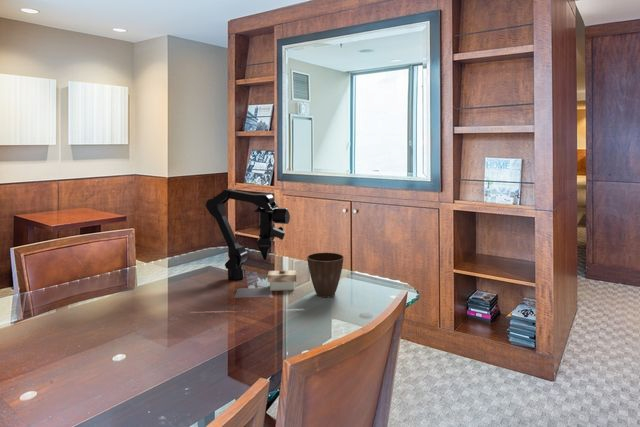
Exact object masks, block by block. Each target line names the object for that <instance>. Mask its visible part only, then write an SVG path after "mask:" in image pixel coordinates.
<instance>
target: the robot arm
mask: <svg viewBox="0 0 640 427" xmlns="http://www.w3.org/2000/svg"><path fill="white" fill-rule="evenodd" d="M229 200H235V201H241V202H247V203H250V204H253V205H254V206H256V207H257V208H256V209H255V210H254V212H255V213H258V215H259V224H258V229H259V234H258V239H257V240H256V246H257V248H258V250H259V252H260V254H261V257H262V258H263V260H264V261H267V260H268V259H267V258H268V255H269V253H270V248H271V247H272V246H273V241H274V239H275V238H277V239H279V240H281V241H283V240H284V238H285V235H286V230H284V227H283V226H279V227H274V224H279V225H280V224H282V225H288V224H289V223H290V220H291V215H290V212H289V209H288V208H287V207H284V208H283V207H282V208H281V207H279V205H278V204H277V202H276V201H275V197H274V196H273V194H271V193H251V192H247V191H243V190H236V189H232V188H225V189H223V190H222V191H221V192H220V193H218V194H217V195H215V196H213V197H212V198H208V199H207V200H206V202H205V209H206V210H207V212H208V213H209V214H210V215H211V216H212V217H213V218H214V219H215V221H216V223H217V225H218V228H219V230H220V232H221V235H222V236H223V239H224V241H225V243H226V246H227V254H228V255H227V256H228V260H227V261H226V262H225V263H224V267H225V269H227V280H226V281H227V282H231V281H232V282H233V281H235V282H239V281H240V282H241V281H242V280H244V278H245V273H244V272H245V270H244V268H243V265H245V263H246V261H247V260H248V251H247V250H246V247H245V246H246V245H244V244H243V245H241V244H239V242H238V240H237V238H236V235H235V233H234V231H233V229H232V226H231V224H230V222H229V220H228V217H227V215H226V205H225V204H226V203H227V202H228V201H229Z"/></svg>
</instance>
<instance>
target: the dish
mask: <svg viewBox="0 0 640 427" xmlns="http://www.w3.org/2000/svg"><path fill="white" fill-rule="evenodd" d="M269 286H270V287H269V288H270V292H272V291H273V292H275V291H278V292H279V291H295V282H269Z"/></svg>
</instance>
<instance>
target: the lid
mask: <svg viewBox="0 0 640 427" xmlns="http://www.w3.org/2000/svg"><path fill="white" fill-rule="evenodd" d="M270 282H294V283H296V282H297V270H295V269H293V270H283V269H282V270H268V273H267V283H270Z"/></svg>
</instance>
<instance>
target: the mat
mask: <svg viewBox="0 0 640 427" xmlns="http://www.w3.org/2000/svg"><path fill="white" fill-rule="evenodd" d="M270 294H271V291H270V287H250V288H249V287H246V288H245V287H244V288H243V287H241V288H240V287H239V288H237V290H236V293H235V295H234V297H233V298H235V299H238V298H239V299H241V298H242V299H244V298H269V297H270Z"/></svg>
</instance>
